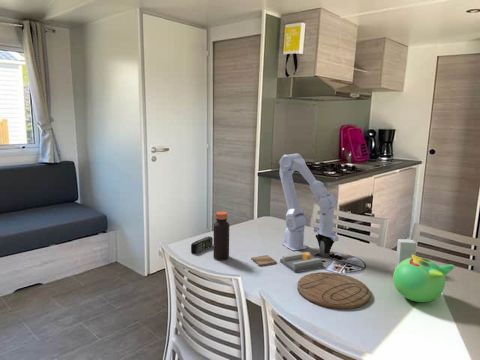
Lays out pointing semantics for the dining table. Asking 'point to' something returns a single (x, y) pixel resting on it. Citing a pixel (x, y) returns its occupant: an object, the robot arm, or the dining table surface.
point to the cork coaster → (263, 260)
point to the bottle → (221, 237)
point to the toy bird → (420, 279)
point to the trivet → (333, 290)
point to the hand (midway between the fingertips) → (324, 251)
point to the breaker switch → (306, 256)
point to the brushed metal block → (322, 251)
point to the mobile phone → (201, 244)
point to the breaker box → (300, 262)
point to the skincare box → (405, 250)
